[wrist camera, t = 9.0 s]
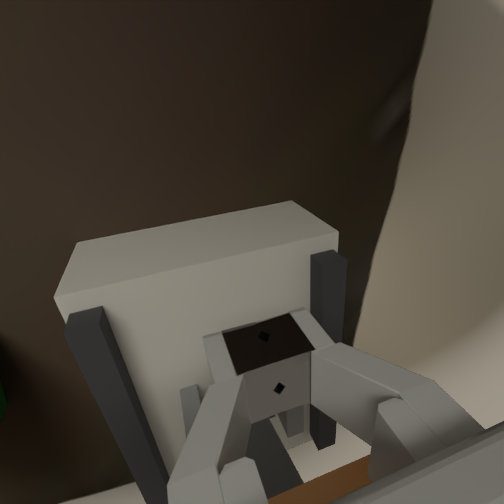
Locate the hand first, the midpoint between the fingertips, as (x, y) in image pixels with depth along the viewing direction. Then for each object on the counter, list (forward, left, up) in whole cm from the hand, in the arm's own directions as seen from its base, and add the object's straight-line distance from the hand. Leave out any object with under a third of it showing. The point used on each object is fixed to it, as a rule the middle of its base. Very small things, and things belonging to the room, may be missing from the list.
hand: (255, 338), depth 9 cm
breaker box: (+10, 0, -13) cm, 16 cm away
